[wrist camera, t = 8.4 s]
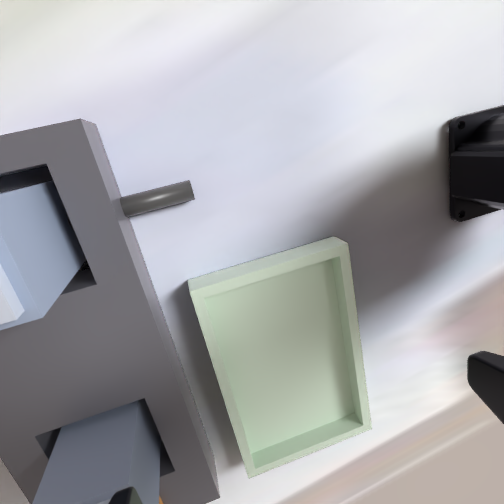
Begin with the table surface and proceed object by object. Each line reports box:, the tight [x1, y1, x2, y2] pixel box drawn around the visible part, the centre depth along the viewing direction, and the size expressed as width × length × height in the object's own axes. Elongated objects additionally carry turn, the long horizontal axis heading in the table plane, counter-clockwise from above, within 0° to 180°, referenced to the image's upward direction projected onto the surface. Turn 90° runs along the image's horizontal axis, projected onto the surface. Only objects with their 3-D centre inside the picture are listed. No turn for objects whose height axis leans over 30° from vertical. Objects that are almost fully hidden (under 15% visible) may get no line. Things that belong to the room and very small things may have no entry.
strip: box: [0, 119, 220, 504], centre depth 17 cm, size 9×22×4 cm, turn 13°
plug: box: [32, 398, 161, 504], centre depth 17 cm, size 4×4×8 cm
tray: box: [188, 236, 372, 478], centre depth 21 cm, size 9×14×2 cm, turn 13°
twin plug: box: [0, 180, 195, 330], centre depth 13 cm, size 10×4×8 cm, turn 103°
